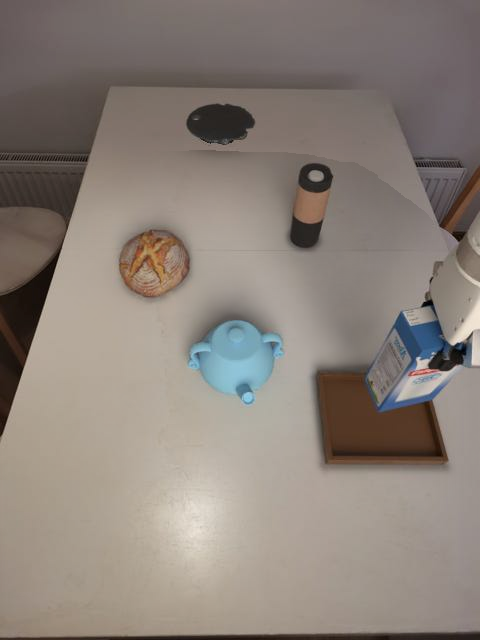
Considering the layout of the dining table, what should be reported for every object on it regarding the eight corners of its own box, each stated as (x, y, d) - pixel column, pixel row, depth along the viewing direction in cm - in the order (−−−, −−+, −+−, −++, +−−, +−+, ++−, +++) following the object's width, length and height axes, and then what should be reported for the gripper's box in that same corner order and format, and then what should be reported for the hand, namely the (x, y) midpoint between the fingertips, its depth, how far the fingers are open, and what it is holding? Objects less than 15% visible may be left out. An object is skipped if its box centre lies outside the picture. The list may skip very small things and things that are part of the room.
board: (172, 133, 137) (170, 118, 133) (223, 108, 146) (223, 93, 141) (217, 165, 128) (217, 150, 124) (269, 137, 137) (270, 121, 133)
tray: (420, 378, 89) (425, 373, 87) (443, 465, 79) (448, 461, 77) (316, 378, 89) (318, 372, 87) (325, 464, 79) (328, 460, 77)
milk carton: (377, 412, 70) (422, 350, 54) (362, 379, 74) (400, 311, 57) (433, 399, 72) (492, 335, 55) (416, 367, 75) (467, 297, 59)
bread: (120, 305, 100) (107, 277, 91) (127, 243, 111) (116, 213, 102) (190, 299, 100) (183, 271, 91) (190, 238, 111) (184, 208, 102)
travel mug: (283, 240, 111) (292, 175, 94) (298, 224, 114) (309, 158, 98) (309, 253, 108) (323, 188, 92) (324, 235, 112) (339, 170, 96)
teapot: (274, 329, 95) (279, 295, 85) (296, 414, 84) (305, 386, 74) (185, 342, 93) (179, 307, 83) (195, 430, 82) (190, 403, 72)
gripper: (565, 323, 41) (477, 400, 55) (502, 201, 51) (442, 294, 65) (487, 323, 41) (419, 400, 55) (439, 200, 51) (392, 293, 65)
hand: (432, 342), depth 60 cm, fingers closed on milk carton, 7 cm apart
